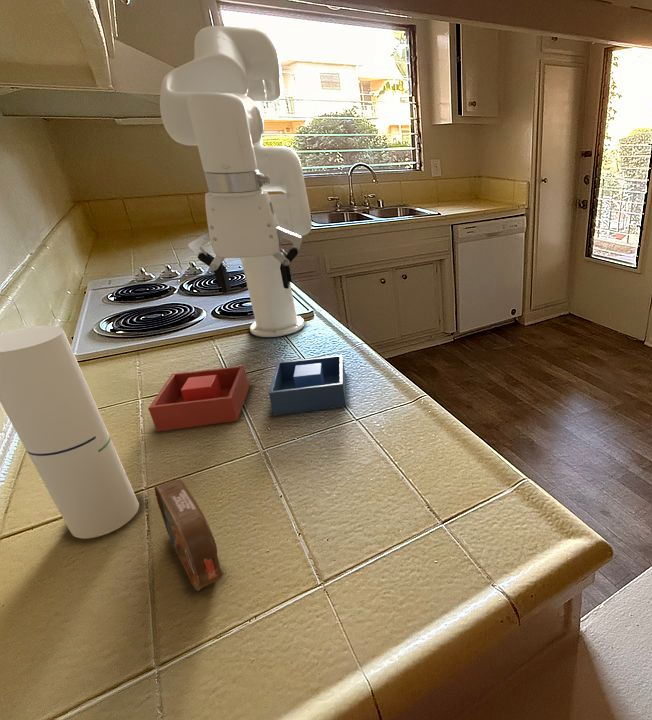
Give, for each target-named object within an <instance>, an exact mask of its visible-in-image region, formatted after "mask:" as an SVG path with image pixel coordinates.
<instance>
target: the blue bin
mask: <svg viewBox="0 0 652 720" xmlns="http://www.w3.org/2000/svg"><path fill="white" fill-rule="evenodd" d="M316 363H321V364H322V370H323V376H324V382H325V385H319V386H311V387H303V388H296V387H295V382H294V372H295V367H296V366H298V365H307V364H316ZM345 368H346V367H345V362H344V356H343V354H340V355H330V356H321V357H313V358H311V357H310V358H304V359H303V358H301V359H295V360H294V359H293V360H284V361H277V362H276V365H275V368H274V372H273V376H272V379H271V382H270V386H269V390H268V398H269V401H270V405H271V410H272V415H273V416H274V417H277V416H284V415H291V414H298V413H299V414H300V413H305V412H313V411H320V410H327V409H334V408H342V407H347V384H346V382H347V381H346V380H347V379H346V376H347V375H346V369H345Z"/></svg>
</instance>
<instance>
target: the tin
mask: <svg viewBox="0 0 652 720" xmlns="http://www.w3.org/2000/svg"><path fill="white" fill-rule="evenodd" d="M153 487H154V494H155V498H156V502H157V505H158V508H159V511H160V514H161V517H162V521H163V523H164V526H165V529H166V533H167V535H168V537H169V539H170V542H171V543H172V546H173V548H174V550H175V552H176V554H177V557H178V558H179V561H180V562H181V564H182V567H183V569H184V571H185V573H186V575H187V577H188V579H189V581H190V583H191V585H192V587H193V589H194V590H195V591H196V592H199V591H201V590H202V589H203V588H205V587H207V586H209V585H211V584H213V583H215V582H217V581H219V580H220V579H221V578H222V577H223V575H224V572H223V569H222V567H221V563H220V560H219V556H218V548H217V543H216V540H215V537H214V535H213V532H212V529H211V527H210V525H209V522H208V521H207V519H206V516H205V515H204V513H203V512H202V510H201V508H200V507H199V504H198V503H197V501H196V499H195V498H194V496H193V495H192V492H191V491H190V490H189V488H188V487H187V485H186V483H185V482H184V481H183V480H182V479H181V478H177V479H173V480H170V481H168V482H165V483H162V484H160V485H155V486H153Z"/></svg>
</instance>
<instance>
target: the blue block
mask: <svg viewBox="0 0 652 720" xmlns="http://www.w3.org/2000/svg"><path fill="white" fill-rule="evenodd" d="M294 382H295V387H296V388H303V387H311V386H319V385H325V382H324V376H323V370H322V364H321V363H316V364H307V365H298V366H296V367H295V372H294Z"/></svg>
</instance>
